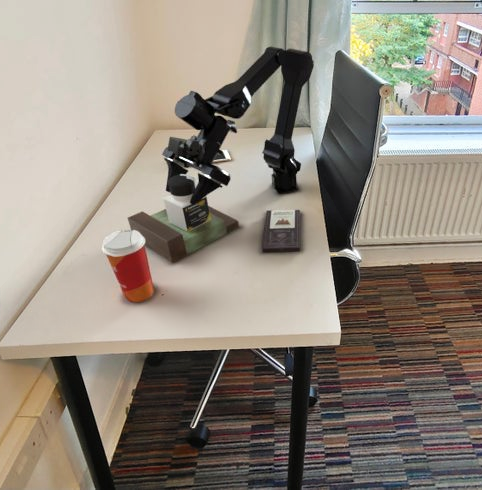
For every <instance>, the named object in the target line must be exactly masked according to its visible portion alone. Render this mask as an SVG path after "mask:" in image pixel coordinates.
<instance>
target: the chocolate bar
mask: <svg viewBox="0 0 482 490" xmlns="http://www.w3.org/2000/svg"><path fill="white" fill-rule="evenodd" d="M261 251H262V253H273V252H275V253H276V252H277V253H278V252H300V251H301V210H300V209H274V210H272V209H271V210H266V212H265V222H264V230H263V238H262V247H261Z"/></svg>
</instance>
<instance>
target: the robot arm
mask: <svg viewBox="0 0 482 490" xmlns="http://www.w3.org/2000/svg"><path fill="white" fill-rule="evenodd" d="M313 57H314V56H313V55H312V53H311V52H309V51H305V50H300V49H296V48H291V47H290V48H287V49H286V50H285V49H284V48H282V47H276V46H267V47H266V48H265V49H264V52H263V53H262V55H261V56H259V57H258V58H257V59H256V60H255V61H254V62H253V64H251V66H249V67H248V69H246V70H245V72H243V74H241V76H240V77H239V78H238V79H236V80H235V81H233V82H230V83H227V84H225V85H223V86H222V87H220V88H219V89H217V90H216V91H215V92H214V93H213V95H211V96H210V97H207V98H205V99H204V98H203V96H202V95H201V94H200V93H198V92H197V91H194V90H190V92H189V93H188V94H187V95H184V96H183V97H182V98H180V99H179V100H177V102H176V104H175V106H174V115H175V116H176V117H177V118H178V119H180V120H181V121H183V122H184V123H186V124H187V125H188V126H190V127H192V128H193V129H194V130H196V131H199V132H198V134H197V135H195V134H193V135H191V136H190V138H188V139H185V138H181V137H176V136H169V139H168V144H167V147H165V148H164V150H163V151H162V153H161V155H162V156H164V157H163V159H164V161H165V162H166V165H167V170H168V171H167V179H166V184H165V191H166V193H167V192H168V193H170V189H169V185H168V181H169V179H170V178H171V177H173V176H176V175H180V174H187V175H188V173H189V170H188V168H192V169H195V170H196V171H199V172H197V179H198V182H197V183H196V188H195V191H194V193H193V195H192V197H191V200H190V203H191V204H193V205H194V204H195V203H197V202H198V201H200V200H201V199H202V198H204V197H205V196H208V195H209V194H211V193H213V192H214V191H216V190H217V189H221V188H223V186H226V187H228V186H229V183H230V182H231V180H232V179H231V173H228V172H227V171H226V170H224V169H222V168H220V167H219V166H217V165H215V164H213V163H214V162H213V161H214V159H215V157H216V155H217V154H219V155H221V154H222V152H223V151H222V149H221V147H222V145H223V144H224V142H225V140H226V138H227V136H228V134H229V132H231V133H233V134H237V133H238V130H237V126H236V121H233V120H240V119H241V118H242V117H243V116H244V115H245V114H246V112H247V111H248V109H250V106H251V105H252V98H253V96H254V95H255V94H256V93H257V92H258V91H259V89H261V87H262V86H263V85H264V84H265V83H266V82H267V81H268V80H269V79H270V78H271V77H272V76H274V74H275V73H276V71H278V69H279V68H280V71H281V75H282V78H283V88H282V93H281V97H280V103H279V108H278V113H277V118H276V123H275V129H274V134H273V135H272V136H271V137H270V139H265V141H264V144H263V145H264V147H263V149H262V154H263V157H262V159H263V160H264V163H266V164H267V167H268V168H269V169H272V174H271V176H270V177H271V186H272V187H271V188H273V190H275V191H276V192H277V194H278V195H282V194H288V193H292V192H293V193H294V192H297V191H299V190H300V188H299V187H298V181H297V175H298V172H300V171H301V167H302V162H300V161H298V160H297V159H296V158H295V149H296V148H295V146H294V143H293V140H292V139H293V133H294V128H295V124H296V118H297V114H298V110H299V105H300V100H301V99H300V98H301V95H302V90H303V87H304V86H305V85H306V83H307V82H308V81H309V80H310V79H311V75H312V73H313V69H314V68H315V67H314V66H315V59H314V58H313ZM215 114H217V115H215ZM225 117H228V118H231V119H227V118H225ZM232 119H233V120H232ZM193 164H194V165H193ZM200 172H201V173H200Z"/></svg>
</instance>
